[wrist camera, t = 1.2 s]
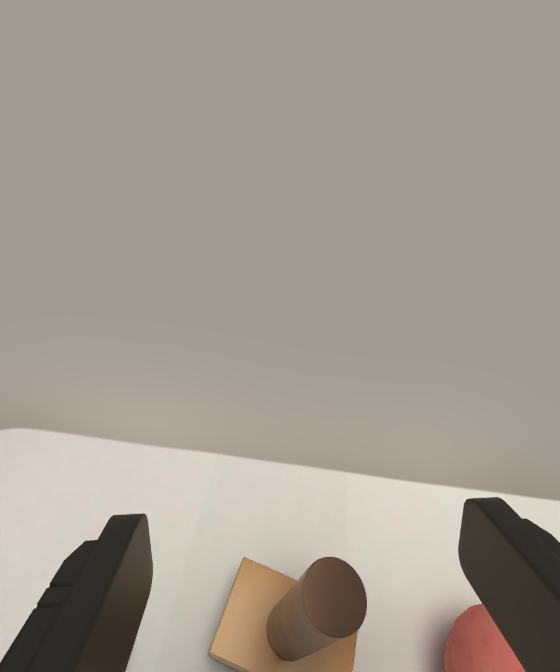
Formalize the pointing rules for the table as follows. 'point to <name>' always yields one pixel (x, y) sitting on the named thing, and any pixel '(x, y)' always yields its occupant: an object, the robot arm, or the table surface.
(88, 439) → the table surface
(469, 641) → the apple
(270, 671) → the wooden handled stamp
